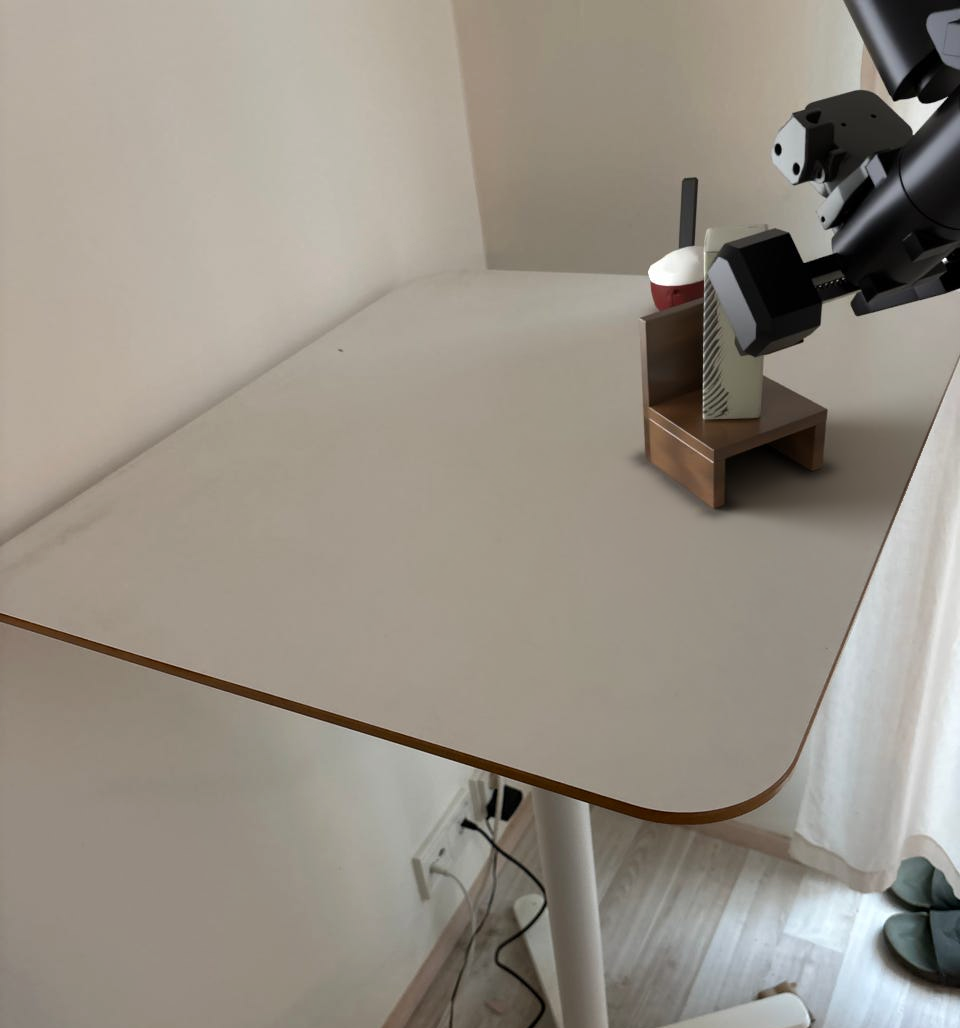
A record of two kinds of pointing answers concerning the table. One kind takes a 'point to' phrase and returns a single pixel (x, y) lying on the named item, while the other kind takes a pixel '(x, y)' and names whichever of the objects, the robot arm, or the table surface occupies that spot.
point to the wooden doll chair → (679, 410)
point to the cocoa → (681, 259)
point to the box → (727, 345)
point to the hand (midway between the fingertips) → (797, 328)
